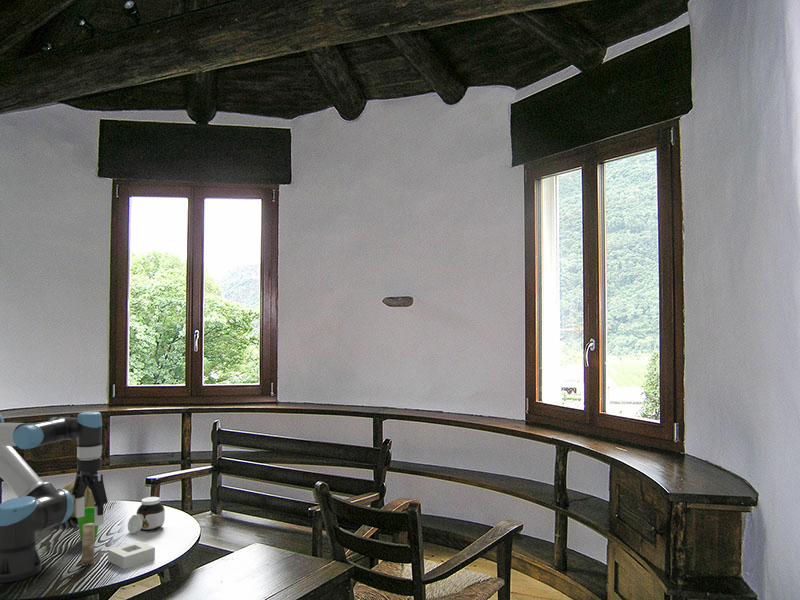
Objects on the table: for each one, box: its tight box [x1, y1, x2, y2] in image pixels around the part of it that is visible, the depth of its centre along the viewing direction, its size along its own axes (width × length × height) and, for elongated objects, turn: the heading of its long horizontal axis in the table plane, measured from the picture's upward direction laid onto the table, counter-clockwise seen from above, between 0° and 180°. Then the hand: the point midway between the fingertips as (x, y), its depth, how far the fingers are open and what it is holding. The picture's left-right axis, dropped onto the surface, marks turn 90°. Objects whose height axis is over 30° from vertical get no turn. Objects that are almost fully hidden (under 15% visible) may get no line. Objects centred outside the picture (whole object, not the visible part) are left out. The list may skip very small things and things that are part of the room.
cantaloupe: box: [61, 480, 96, 518], centre depth 266 cm, size 15×15×15 cm
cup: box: [76, 506, 99, 540], centre depth 238 cm, size 9×9×11 cm
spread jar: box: [127, 496, 166, 534], centre depth 248 cm, size 12×11×12 cm
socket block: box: [107, 540, 156, 570], centre depth 217 cm, size 11×11×4 cm
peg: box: [81, 523, 95, 566], centre depth 215 cm, size 4×4×13 cm
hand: (89, 520), depth 215 cm, fingers open, 13 cm apart
